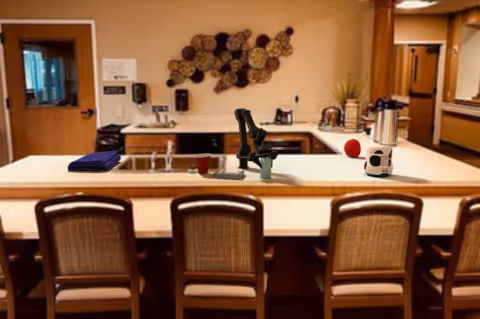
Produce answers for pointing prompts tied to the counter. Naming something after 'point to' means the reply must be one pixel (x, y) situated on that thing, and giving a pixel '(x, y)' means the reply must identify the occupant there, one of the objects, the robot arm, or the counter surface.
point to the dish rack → (228, 174)
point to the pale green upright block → (265, 168)
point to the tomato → (352, 148)
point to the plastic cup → (202, 162)
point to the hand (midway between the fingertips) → (266, 167)
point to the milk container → (378, 160)
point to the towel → (95, 161)
